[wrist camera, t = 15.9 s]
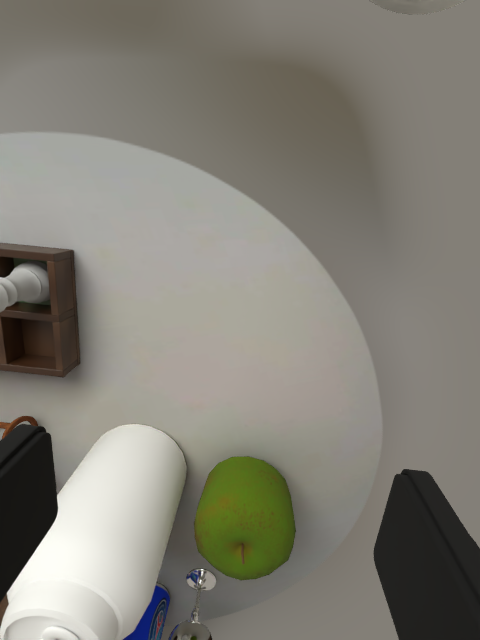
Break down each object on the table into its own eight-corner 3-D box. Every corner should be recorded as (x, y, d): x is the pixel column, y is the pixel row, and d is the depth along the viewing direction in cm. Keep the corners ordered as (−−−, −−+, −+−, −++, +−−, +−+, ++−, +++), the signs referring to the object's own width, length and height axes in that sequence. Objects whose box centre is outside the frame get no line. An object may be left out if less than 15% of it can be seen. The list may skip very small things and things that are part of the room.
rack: (-48, 237, 37) (-80, 240, 33) (73, 249, 36) (53, 253, 33) (-29, 351, 41) (-55, 364, 37) (80, 363, 40) (63, 377, 37)
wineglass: (203, 559, 49) (185, 666, 37) (228, 584, 50) (218, 694, 38) (174, 575, 50) (147, 682, 39) (198, 598, 51) (180, 709, 40)
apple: (299, 457, 42) (312, 536, 32) (277, 521, 46) (282, 611, 35) (213, 437, 42) (197, 509, 32) (197, 502, 46) (178, 587, 35)
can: (143, 403, 41) (42, 565, 22) (208, 471, 44) (166, 670, 25) (74, 452, 44) (-67, 632, 25) (138, 513, 47) (54, 719, 28)
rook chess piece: (11, 276, 37) (-55, 293, 29) (38, 251, 36) (-23, 261, 28) (41, 308, 38) (-15, 332, 30) (68, 284, 37) (17, 303, 29)
